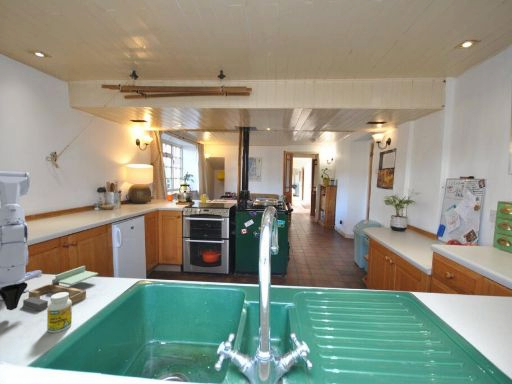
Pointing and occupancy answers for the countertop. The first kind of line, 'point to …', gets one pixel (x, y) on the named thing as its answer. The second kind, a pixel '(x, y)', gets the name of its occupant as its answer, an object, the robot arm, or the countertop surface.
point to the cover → (73, 276)
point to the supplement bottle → (59, 312)
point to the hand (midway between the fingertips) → (11, 308)
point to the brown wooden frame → (55, 287)
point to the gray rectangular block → (35, 303)
